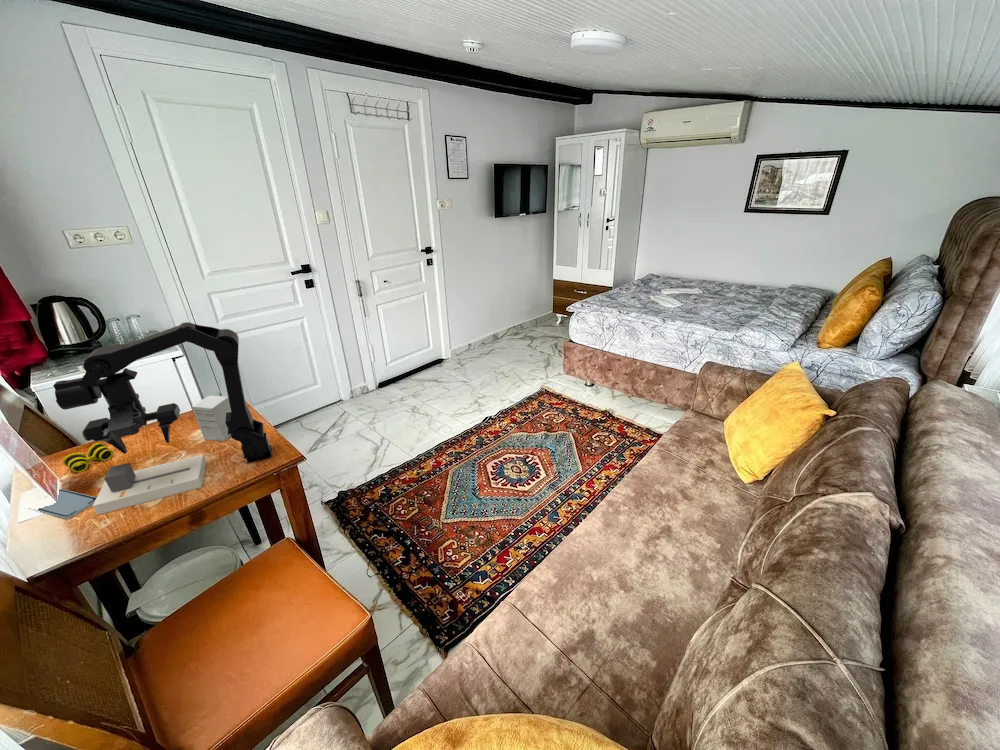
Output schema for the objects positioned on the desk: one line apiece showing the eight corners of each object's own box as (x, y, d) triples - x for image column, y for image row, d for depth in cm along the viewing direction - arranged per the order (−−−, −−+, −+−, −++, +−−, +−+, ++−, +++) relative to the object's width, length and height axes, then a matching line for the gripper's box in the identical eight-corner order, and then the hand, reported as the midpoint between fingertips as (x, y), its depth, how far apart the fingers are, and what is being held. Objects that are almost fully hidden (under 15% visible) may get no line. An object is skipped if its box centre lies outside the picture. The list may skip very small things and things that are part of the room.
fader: (135, 475, 111) (129, 462, 109) (131, 487, 107) (124, 473, 105) (117, 480, 109) (110, 467, 107) (111, 492, 105) (104, 478, 103)
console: (206, 462, 121) (203, 454, 120) (201, 487, 112) (197, 478, 110) (111, 485, 112) (107, 477, 111) (97, 514, 102) (92, 505, 101)
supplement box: (220, 427, 138) (208, 394, 132) (240, 429, 137) (229, 396, 132) (203, 439, 132) (190, 406, 126) (224, 441, 131) (212, 408, 125)
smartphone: (60, 488, 111) (99, 497, 107) (62, 491, 111) (101, 500, 107) (25, 507, 104) (66, 518, 101) (27, 510, 105) (68, 521, 101)
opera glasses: (76, 477, 117) (69, 464, 114) (66, 469, 118) (59, 456, 116) (116, 458, 124) (111, 446, 122) (106, 451, 126) (101, 439, 123)
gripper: (59, 423, 92) (92, 476, 99) (160, 401, 99) (184, 453, 106) (77, 401, 101) (106, 452, 108) (168, 383, 108) (190, 431, 115)
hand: (147, 447), depth 109 cm, fingers open, 9 cm apart
